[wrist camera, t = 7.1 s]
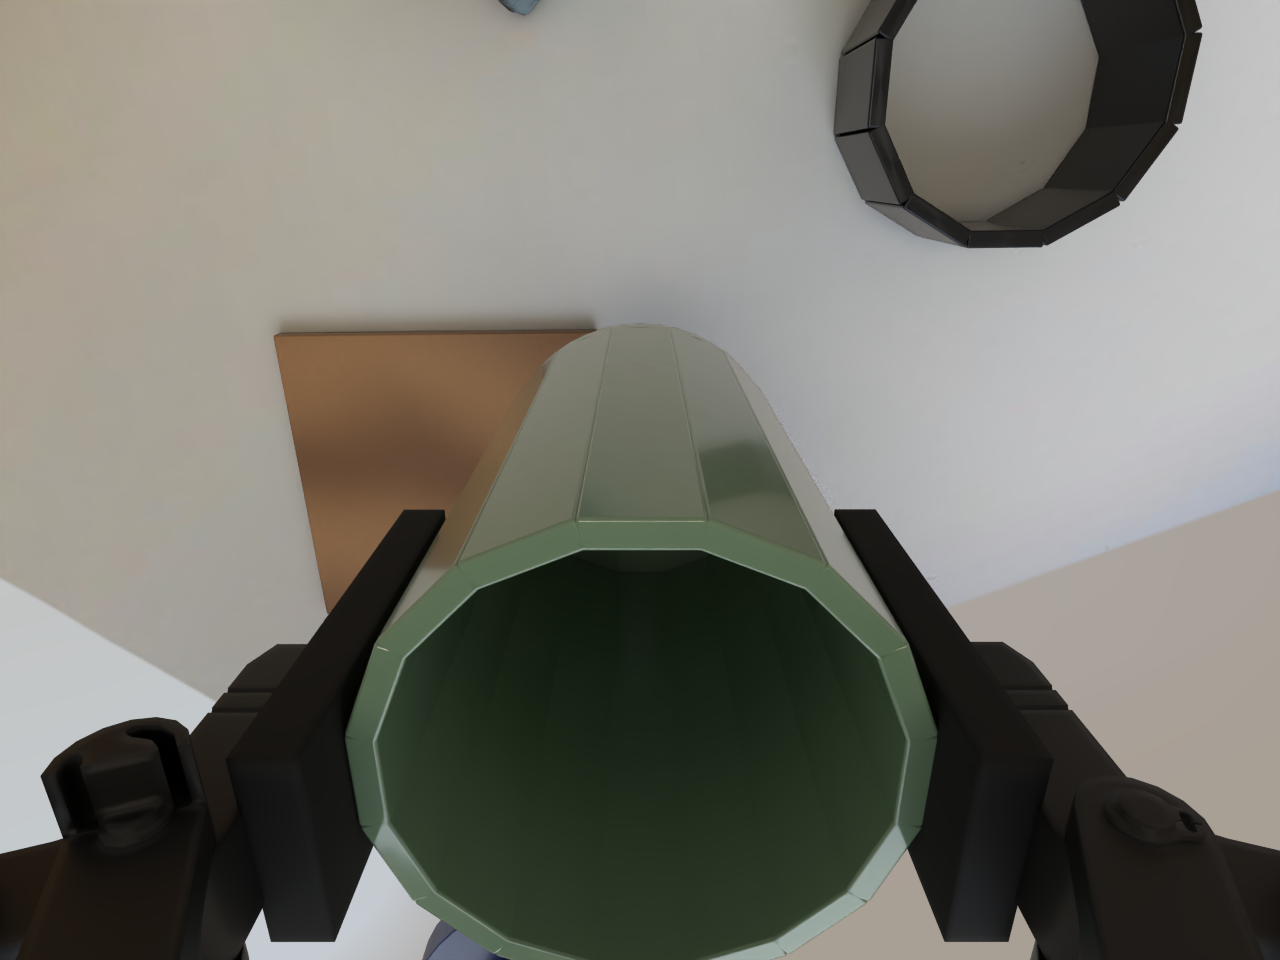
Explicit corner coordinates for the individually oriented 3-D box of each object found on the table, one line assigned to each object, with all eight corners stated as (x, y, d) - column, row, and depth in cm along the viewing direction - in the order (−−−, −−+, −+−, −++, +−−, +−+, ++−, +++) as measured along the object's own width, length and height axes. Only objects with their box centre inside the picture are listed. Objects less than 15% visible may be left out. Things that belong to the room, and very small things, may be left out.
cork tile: (606, 605, 39) (605, 611, 38) (331, 607, 39) (326, 614, 38) (597, 329, 33) (596, 331, 33) (278, 332, 33) (272, 335, 33)
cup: (765, 574, 22) (896, 983, 11) (515, 574, 22) (386, 983, 11) (782, 322, 19) (979, 517, 8) (498, 322, 19) (304, 518, 8)
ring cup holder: (1096, 235, 32) (1283, 260, 23) (808, 238, 32) (876, 266, 23) (1165, -103, 27) (1431, -242, 18) (831, -98, 28) (926, -234, 18)
